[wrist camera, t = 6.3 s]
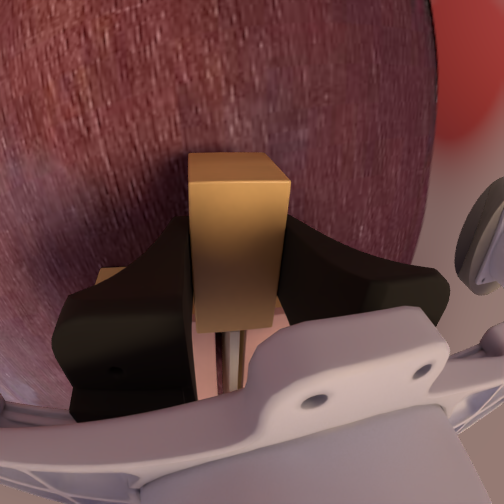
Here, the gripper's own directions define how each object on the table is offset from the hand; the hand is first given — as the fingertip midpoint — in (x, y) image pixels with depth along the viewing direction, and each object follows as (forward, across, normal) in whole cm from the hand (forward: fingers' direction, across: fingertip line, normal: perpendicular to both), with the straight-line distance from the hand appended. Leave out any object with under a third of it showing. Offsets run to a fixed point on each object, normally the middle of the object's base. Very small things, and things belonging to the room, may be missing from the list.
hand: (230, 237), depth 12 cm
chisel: (+1, 0, +4) cm, 5 cm away
